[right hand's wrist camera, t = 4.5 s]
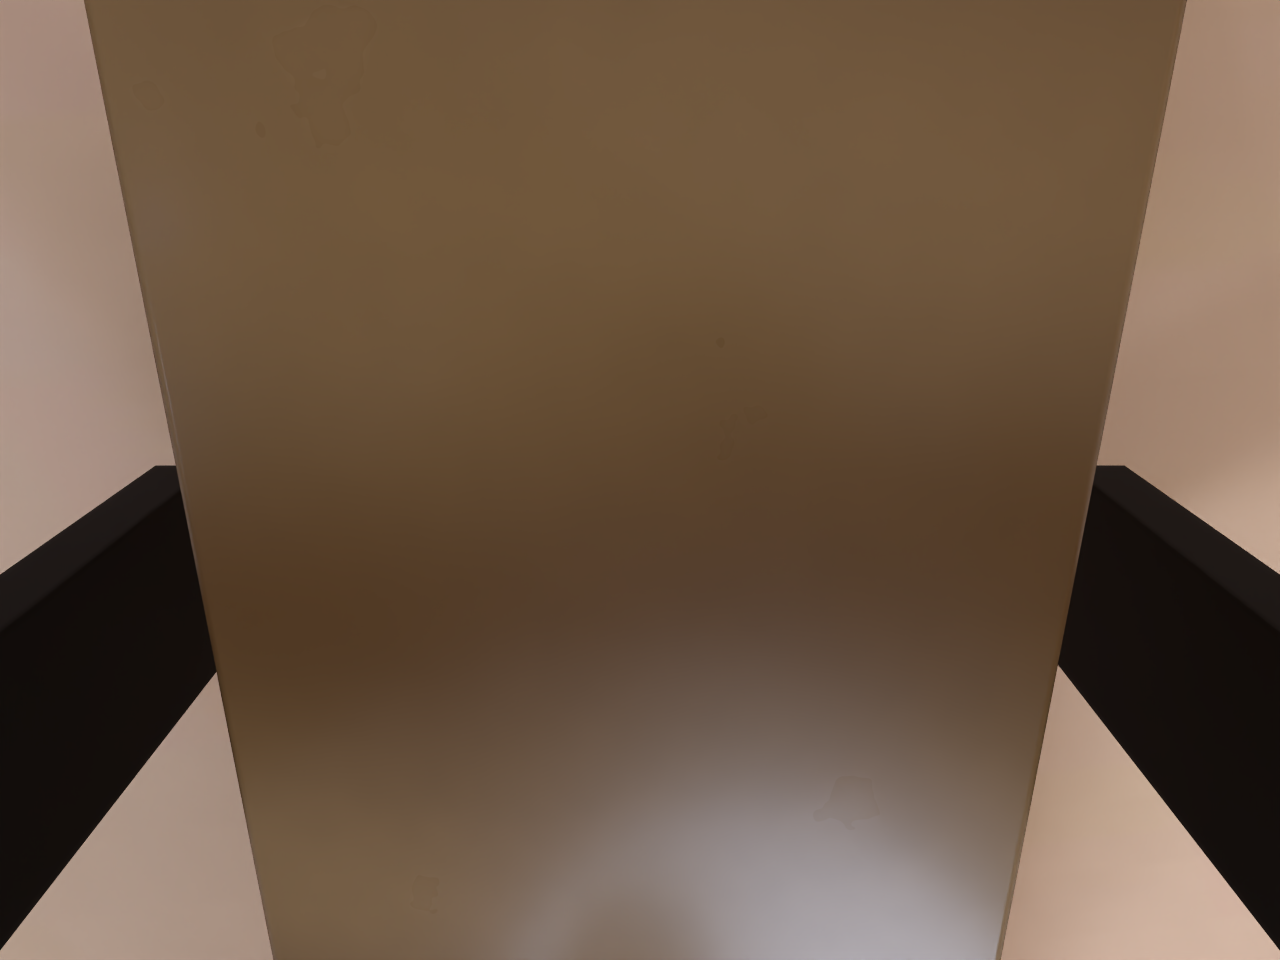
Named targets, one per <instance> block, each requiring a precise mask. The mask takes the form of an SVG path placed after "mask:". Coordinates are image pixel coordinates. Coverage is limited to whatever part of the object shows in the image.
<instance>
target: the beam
mask: <svg viewBox="0 0 1280 960" xmlns="http://www.w3.org/2000/svg"><path fill="white" fill-rule="evenodd" d="M1186 2H1187V0H84V3H85V8H86V13H87V18H88V23H89V28H90V33H91V38H92V43H93V48H94V53H95V59H96V64H97V69H98V74H99V79H100V84H101V89H102V94H103V99H104V104H105V109H106V114H107V119H108V124H109V129H110V134H111V140H112V145H113V150H114V155H115V160H116V165H117V170H118V175H119V180H120V185H121V190H122V195H123V200H124V205H125V210H126V215H127V221H128V226H129V231H130V236H131V241H132V246H133V251H134V256H135V261H136V266H137V271H138V276H139V281H140V286H141V291H142V296H143V302H144V307H145V312H146V317H147V322H148V327H149V332H150V337H151V342H152V347H153V352H154V357H155V362H156V367H157V372H158V377H159V383H160V388H161V393H162V398H163V403H164V408H165V413H166V418H167V423H168V428H169V433H170V438H171V443H172V448H173V453H174V458H175V464H176V469H177V474H178V479H179V484H180V489H181V494H182V499H183V504H184V509H185V514H186V519H187V524H188V529H189V534H190V539H191V545H192V550H193V555H194V560H195V565H196V570H197V575H198V580H199V585H200V590H201V595H202V600H203V605H204V610H205V615H206V620H207V626H208V631H209V636H210V641H211V646H212V651H213V656H214V661H215V666H216V671H217V676H218V681H219V686H220V691H221V696H222V701H223V707H224V712H225V717H226V722H227V727H228V732H229V737H230V742H231V747H232V752H233V757H234V762H235V767H236V772H237V777H238V782H239V788H240V793H241V798H242V803H243V808H244V813H245V818H246V823H247V828H248V833H249V838H250V843H251V848H252V853H253V858H254V863H255V869H256V874H257V879H258V884H259V889H260V894H261V899H262V904H263V909H264V914H265V919H266V924H267V929H268V934H269V939H270V944H271V950H272V955H273V960H1001V954H1002V949H1003V944H1004V939H1005V934H1006V929H1007V923H1008V918H1009V913H1010V908H1011V903H1012V898H1013V893H1014V887H1015V882H1016V877H1017V872H1018V867H1019V862H1020V857H1021V851H1022V846H1023V841H1024V836H1025V831H1026V826H1027V821H1028V815H1029V810H1030V805H1031V800H1032V795H1033V790H1034V784H1035V779H1036V774H1037V769H1038V764H1039V759H1040V754H1041V748H1042V743H1043V738H1044V733H1045V728H1046V723H1047V717H1048V712H1049V707H1050V702H1051V697H1052V692H1053V687H1054V681H1055V676H1056V671H1057V666H1058V661H1059V656H1060V651H1061V645H1062V640H1063V635H1064V630H1065V625H1066V620H1067V614H1068V609H1069V604H1070V599H1071V594H1072V589H1073V584H1074V578H1075V573H1076V568H1077V563H1078V558H1079V553H1080V548H1081V542H1082V537H1083V532H1084V527H1085V522H1086V517H1087V511H1088V506H1089V501H1090V496H1091V491H1092V486H1093V481H1094V475H1095V470H1096V465H1097V460H1098V455H1099V450H1100V445H1101V439H1102V434H1103V429H1104V424H1105V419H1106V414H1107V408H1108V403H1109V398H1110V393H1111V388H1112V383H1113V378H1114V372H1115V367H1116V362H1117V357H1118V352H1119V347H1120V342H1121V336H1122V331H1123V326H1124V321H1125V316H1126V311H1127V305H1128V300H1129V295H1130V290H1131V285H1132V280H1133V275H1134V269H1135V264H1136V259H1137V254H1138V249H1139V244H1140V239H1141V233H1142V228H1143V223H1144V218H1145V213H1146V208H1147V202H1148V197H1149V192H1150V187H1151V182H1152V177H1153V172H1154V166H1155V161H1156V156H1157V151H1158V146H1159V141H1160V136H1161V130H1162V125H1163V120H1164V115H1165V110H1166V105H1167V99H1168V94H1169V89H1170V84H1171V79H1172V74H1173V69H1174V63H1175V58H1176V53H1177V48H1178V43H1179V38H1180V33H1181V27H1182V22H1183V17H1184V12H1185V7H1186Z"/></svg>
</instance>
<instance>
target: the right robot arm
mask: <svg viewBox="0 0 1280 960" xmlns="http://www.w3.org/2000/svg"><path fill="white" fill-rule="evenodd" d="M1058 665H1059V666H1060V668H1061V669H1062V670H1063V672H1064V673H1065V674H1066V675H1067V677H1068V678H1069V679H1070V681H1071V682H1072V683H1073V684H1074V686H1075V687H1076V688H1077V690H1078V691H1079V692H1080V694H1081V695H1082V696H1083V697H1084V699H1085V700H1086V701H1087V703H1088V704H1089V705H1090V706H1091V708H1092V709H1093V710H1094V712H1095V713H1096V714H1097V715H1098V717H1099V718H1100V719H1101V721H1102V722H1103V723H1104V724H1105V726H1106V727H1107V728H1108V730H1109V731H1110V732H1111V733H1112V735H1113V736H1114V737H1115V739H1116V740H1117V741H1118V742H1119V744H1120V745H1121V746H1122V748H1123V749H1124V750H1125V751H1126V753H1127V754H1128V755H1129V757H1130V758H1131V759H1132V761H1133V762H1134V763H1135V764H1136V766H1137V767H1138V768H1139V770H1140V771H1141V772H1142V773H1143V775H1144V776H1145V777H1146V779H1147V780H1148V781H1149V782H1150V784H1151V785H1152V786H1153V788H1154V789H1155V790H1156V791H1157V793H1158V794H1159V795H1160V797H1161V798H1162V799H1163V800H1164V802H1165V803H1166V804H1167V806H1168V807H1169V808H1170V809H1171V811H1172V812H1173V813H1174V815H1175V816H1176V817H1177V818H1178V820H1179V821H1180V822H1181V824H1182V825H1183V826H1184V828H1185V829H1186V830H1187V831H1188V833H1189V834H1190V835H1191V837H1192V838H1193V839H1194V840H1195V842H1196V843H1197V844H1198V846H1199V847H1200V848H1201V849H1202V851H1203V852H1204V853H1205V855H1206V856H1207V857H1208V858H1209V860H1210V861H1211V862H1212V864H1213V865H1214V866H1215V867H1216V869H1217V870H1218V871H1219V873H1220V874H1221V875H1222V876H1223V878H1224V879H1225V880H1226V882H1227V883H1228V884H1229V885H1230V887H1231V888H1232V889H1233V891H1234V892H1235V893H1236V894H1237V896H1238V897H1239V898H1240V900H1241V901H1242V902H1243V904H1244V905H1245V906H1246V907H1247V909H1248V910H1249V911H1250V913H1251V914H1252V915H1253V916H1254V918H1255V919H1256V920H1257V922H1258V923H1259V924H1260V925H1261V927H1262V928H1263V929H1264V931H1265V932H1266V933H1267V934H1268V936H1269V937H1270V938H1271V940H1272V941H1273V942H1274V943H1275V945H1276V946H1277V947H1278V949H1279V950H1280V574H1278V573H1277V572H1275V571H1274V570H1272V569H1271V568H1270V567H1268V566H1267V565H1265V564H1264V563H1263V562H1261V561H1260V560H1258V559H1257V558H1255V557H1254V556H1253V555H1251V554H1250V553H1248V552H1247V551H1245V550H1244V549H1243V548H1241V547H1240V546H1238V545H1237V544H1235V543H1234V542H1233V541H1231V540H1230V539H1228V538H1227V537H1225V536H1224V535H1223V534H1221V533H1220V532H1218V531H1217V530H1215V529H1214V528H1213V527H1211V526H1210V525H1208V524H1207V523H1205V522H1204V521H1203V520H1201V519H1200V518H1198V517H1197V516H1195V515H1194V514H1193V513H1191V512H1190V511H1188V510H1187V509H1185V508H1184V507H1183V506H1181V505H1180V504H1178V503H1177V502H1176V501H1174V500H1173V499H1171V498H1170V497H1168V496H1167V495H1166V494H1164V493H1163V492H1161V491H1160V490H1158V489H1157V488H1156V487H1154V486H1153V485H1151V484H1150V483H1148V482H1147V481H1146V480H1144V479H1143V478H1141V477H1140V476H1138V475H1137V474H1136V473H1134V472H1133V471H1131V470H1130V469H1128V468H1127V467H1126V466H1096V470H1095V475H1094V481H1093V486H1092V491H1091V496H1090V501H1089V506H1088V511H1087V517H1086V522H1085V527H1084V532H1083V537H1082V542H1081V548H1080V553H1079V558H1078V563H1077V568H1076V573H1075V578H1074V584H1073V589H1072V594H1071V599H1070V604H1069V609H1068V614H1067V620H1066V625H1065V630H1064V635H1063V640H1062V645H1061V651H1060V656H1059V661H1058ZM216 672H217V671H216V666H215V661H214V656H213V651H212V646H211V641H210V636H209V631H208V626H207V620H206V615H205V610H204V605H203V600H202V595H201V590H200V585H199V580H198V575H197V570H196V565H195V560H194V555H193V550H192V545H191V539H190V534H189V529H188V524H187V519H186V514H185V509H184V504H183V499H182V494H181V489H180V484H179V479H178V474H177V469H176V466H154V467H153V468H152V469H150V470H149V471H147V472H146V473H144V474H143V475H142V476H140V477H139V478H137V479H136V480H134V481H133V482H132V483H130V484H129V485H127V486H126V487H124V488H123V489H122V490H120V491H119V492H117V493H116V494H114V495H113V496H112V497H110V498H109V499H107V500H106V501H105V502H103V503H102V504H100V505H99V506H97V507H96V508H95V509H93V510H92V511H90V512H89V513H87V514H86V515H85V516H83V517H82V518H80V519H79V520H77V521H76V522H75V523H73V524H72V525H70V526H69V527H67V528H66V529H65V530H63V531H62V532H60V533H59V534H57V535H56V536H55V537H53V538H52V539H50V540H49V541H47V542H46V543H45V544H43V545H42V546H40V547H39V548H37V549H36V550H35V551H33V552H32V553H30V554H29V555H28V556H26V557H25V558H23V559H22V560H20V561H19V562H18V563H16V564H15V565H13V566H12V567H10V568H9V569H8V570H6V571H5V572H3V573H2V574H0V950H1V949H2V947H3V946H4V945H5V943H6V942H7V941H8V940H9V938H10V937H11V936H12V934H13V933H14V932H15V931H16V929H17V928H18V927H19V925H20V924H21V923H22V922H23V920H24V919H25V918H26V916H27V915H28V914H29V913H30V911H31V910H32V909H33V907H34V906H35V905H36V904H37V902H38V901H39V900H40V898H41V897H42V896H43V895H44V893H45V892H46V891H47V889H48V888H49V887H50V886H51V884H52V883H53V882H54V880H55V879H56V878H57V876H58V875H59V874H60V873H61V871H62V870H63V869H64V867H65V866H66V865H67V864H68V862H69V861H70V860H71V858H72V857H73V856H74V855H75V853H76V852H77V851H78V849H79V848H80V847H81V846H82V844H83V843H84V842H85V840H86V839H87V838H88V837H89V835H90V834H91V833H92V831H93V830H94V829H95V828H96V826H97V825H98V824H99V822H100V821H101V820H102V819H103V817H104V816H105V815H106V813H107V812H108V811H109V809H110V808H111V807H112V806H113V804H114V803H115V802H116V800H117V799H118V798H119V797H120V795H121V794H122V793H123V791H124V790H125V789H126V788H127V786H128V785H129V784H130V782H131V781H132V780H133V779H134V777H135V776H136V775H137V773H138V772H139V771H140V770H141V768H142V767H143V766H144V764H145V763H146V762H147V761H148V759H149V758H150V757H151V755H152V754H153V753H154V752H155V750H156V749H157V748H158V746H159V745H160V744H161V742H162V741H163V740H164V739H165V737H166V736H167V735H168V733H169V732H170V731H171V730H172V728H173V727H174V726H175V724H176V723H177V722H178V721H179V719H180V718H181V717H182V715H183V714H184V713H185V712H186V710H187V709H188V708H189V706H190V705H191V704H192V703H193V701H194V700H195V699H196V697H197V696H198V695H199V694H200V692H201V691H202V690H203V688H204V687H205V686H206V685H207V683H208V682H209V681H210V679H211V678H212V677H213V676H214V674H215V673H216Z"/></svg>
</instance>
